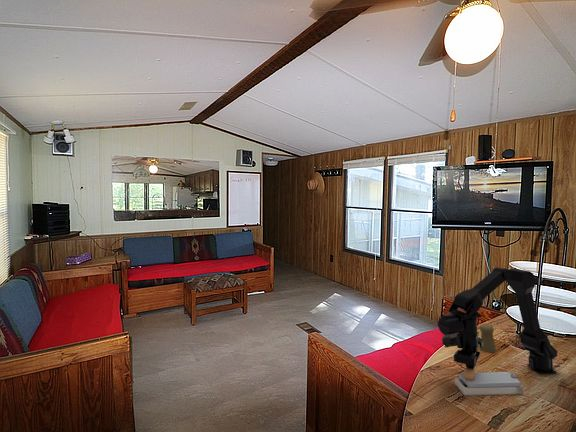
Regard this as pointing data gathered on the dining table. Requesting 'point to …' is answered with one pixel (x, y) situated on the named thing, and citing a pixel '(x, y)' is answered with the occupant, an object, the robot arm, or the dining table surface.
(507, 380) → the cover
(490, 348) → the olive brown bulbous cylinder
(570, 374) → the dining table surface
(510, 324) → the dining table surface
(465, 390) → the white tray with rod
